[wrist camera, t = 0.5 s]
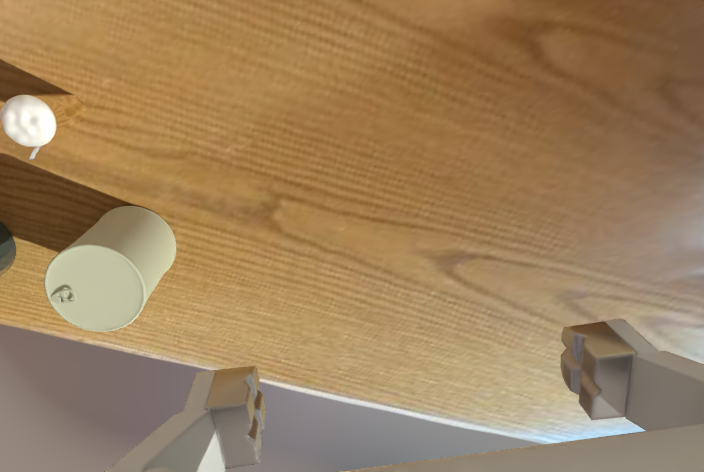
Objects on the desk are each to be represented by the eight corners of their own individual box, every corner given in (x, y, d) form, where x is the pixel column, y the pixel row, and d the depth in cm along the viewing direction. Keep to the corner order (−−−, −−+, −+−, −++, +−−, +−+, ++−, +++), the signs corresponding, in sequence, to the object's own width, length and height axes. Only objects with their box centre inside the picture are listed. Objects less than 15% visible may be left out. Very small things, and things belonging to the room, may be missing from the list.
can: (79, 216, 58) (22, 259, 46) (159, 197, 57) (122, 235, 46) (112, 288, 61) (66, 344, 50) (187, 270, 61) (158, 323, 50)
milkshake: (57, 142, 55) (4, 164, 45) (38, 90, 53) (-21, 102, 43) (100, 135, 55) (56, 155, 45) (83, 83, 53) (32, 93, 43)
